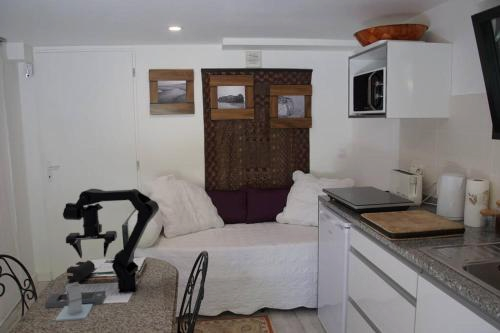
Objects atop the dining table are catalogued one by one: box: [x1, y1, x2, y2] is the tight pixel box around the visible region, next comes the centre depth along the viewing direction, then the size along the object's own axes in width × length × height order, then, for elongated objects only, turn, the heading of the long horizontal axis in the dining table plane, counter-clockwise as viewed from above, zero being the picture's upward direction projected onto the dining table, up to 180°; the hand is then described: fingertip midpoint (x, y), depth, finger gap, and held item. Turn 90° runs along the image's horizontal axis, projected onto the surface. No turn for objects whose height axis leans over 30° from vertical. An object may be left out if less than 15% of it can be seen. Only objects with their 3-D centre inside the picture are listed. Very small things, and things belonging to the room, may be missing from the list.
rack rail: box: [44, 290, 107, 309], centre depth 148 cm, size 20×7×2 cm, turn 98°
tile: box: [55, 304, 94, 323], centre depth 139 cm, size 10×10×1 cm
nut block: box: [65, 282, 82, 315], centre depth 139 cm, size 4×4×10 cm
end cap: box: [66, 260, 96, 284], centre depth 168 cm, size 10×7×7 cm
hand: (93, 257), depth 158 cm, fingers open, 9 cm apart
